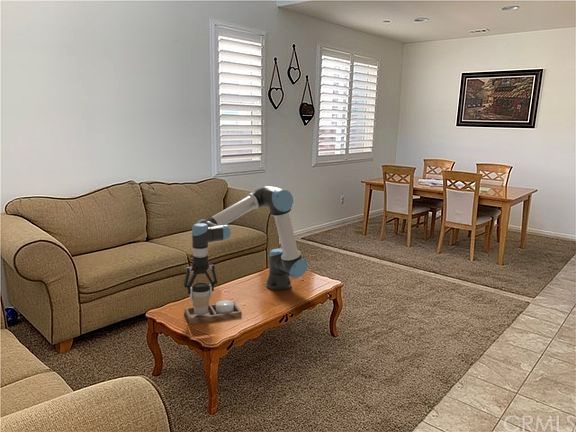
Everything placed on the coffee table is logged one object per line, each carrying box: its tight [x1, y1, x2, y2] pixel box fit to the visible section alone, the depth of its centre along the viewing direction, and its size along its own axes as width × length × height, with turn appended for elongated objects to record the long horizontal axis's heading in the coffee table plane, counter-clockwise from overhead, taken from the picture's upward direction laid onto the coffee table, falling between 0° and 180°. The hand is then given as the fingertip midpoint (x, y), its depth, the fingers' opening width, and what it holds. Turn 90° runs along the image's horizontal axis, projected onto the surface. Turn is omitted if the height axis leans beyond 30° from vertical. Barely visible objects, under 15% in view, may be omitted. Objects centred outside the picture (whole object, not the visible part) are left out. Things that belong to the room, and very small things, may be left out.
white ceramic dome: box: [215, 299, 234, 314], centre depth 226 cm, size 9×9×5 cm
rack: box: [184, 301, 243, 325], centre depth 224 cm, size 26×14×4 cm, turn 112°
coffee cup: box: [191, 282, 210, 315], centre depth 220 cm, size 9×9×15 cm
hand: (200, 298), depth 220 cm, fingers closed on coffee cup, 9 cm apart
